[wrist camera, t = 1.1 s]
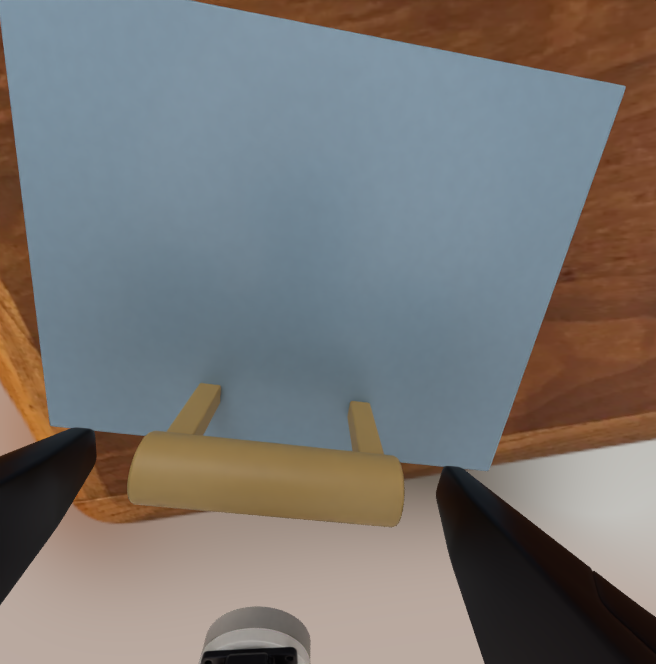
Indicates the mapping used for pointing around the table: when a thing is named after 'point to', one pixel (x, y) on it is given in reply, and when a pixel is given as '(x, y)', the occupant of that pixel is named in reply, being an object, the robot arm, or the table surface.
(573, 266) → the table surface
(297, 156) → the lid
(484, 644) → the robot arm
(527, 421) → the table surface
